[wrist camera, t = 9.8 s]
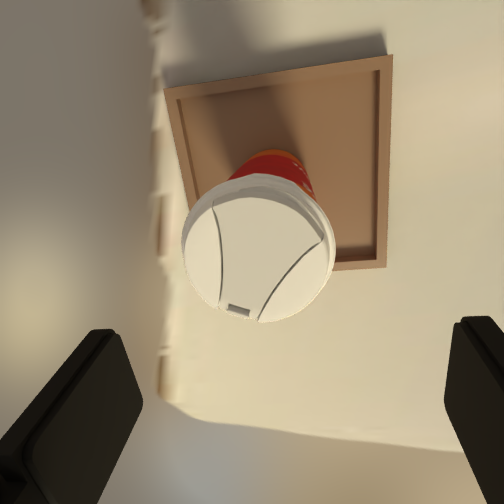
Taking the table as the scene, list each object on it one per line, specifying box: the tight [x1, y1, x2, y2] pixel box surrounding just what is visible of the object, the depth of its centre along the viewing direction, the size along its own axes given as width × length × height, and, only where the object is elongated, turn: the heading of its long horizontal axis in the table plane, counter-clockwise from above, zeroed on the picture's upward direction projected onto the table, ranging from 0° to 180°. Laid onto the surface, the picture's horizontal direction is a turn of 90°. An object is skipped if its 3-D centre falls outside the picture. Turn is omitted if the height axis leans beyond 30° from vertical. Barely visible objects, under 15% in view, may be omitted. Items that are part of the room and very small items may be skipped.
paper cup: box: [181, 149, 336, 323], centre depth 23 cm, size 8×8×14 cm
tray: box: [163, 54, 393, 271], centre depth 29 cm, size 16×16×1 cm
